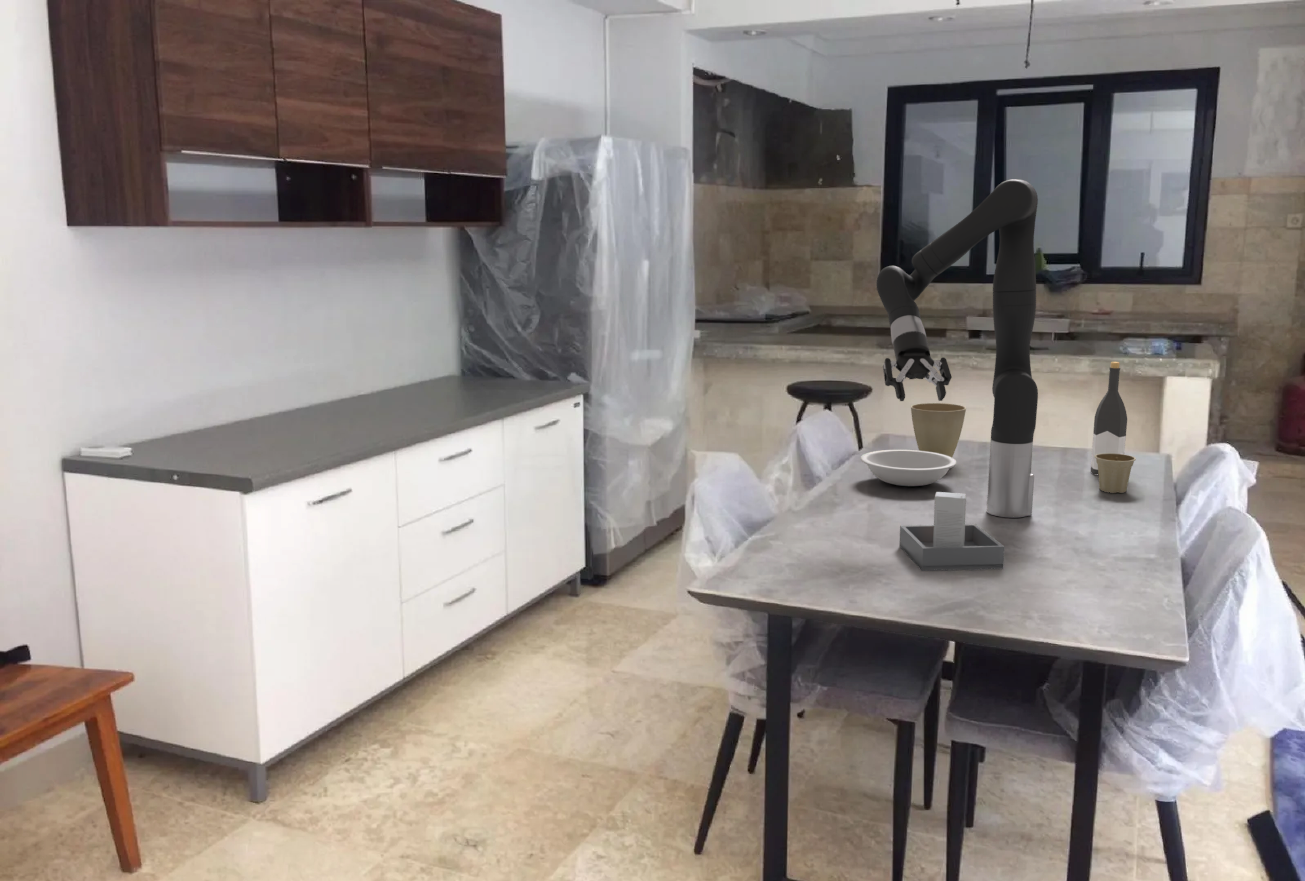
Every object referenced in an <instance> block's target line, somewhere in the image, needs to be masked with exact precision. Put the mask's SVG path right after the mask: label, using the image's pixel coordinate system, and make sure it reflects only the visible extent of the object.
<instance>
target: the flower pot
mask: <svg viewBox="0 0 1305 881" xmlns="http://www.w3.org/2000/svg"><path fill="white" fill-rule="evenodd" d="M1095 458H1096V461H1097V464H1098V475H1099V476H1098V475H1097V476H1098V487H1099V490H1101V491H1102V492H1103V491H1104V493H1109V492H1110V493H1109V494H1116V493H1119V494H1124V493H1126V492H1127V490H1128V484H1129V481H1130V476H1131V472H1132V471H1131V470H1132V467H1133V466H1134V463H1135V461H1136V459H1137V458H1136V457H1135V456H1133V455H1129V454H1125V453H1124V454H1115V453H1102V454H1097V455H1095Z"/></svg>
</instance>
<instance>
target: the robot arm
mask: <svg viewBox="0 0 1305 881" xmlns="http://www.w3.org/2000/svg"><path fill="white" fill-rule="evenodd" d="M1038 204H1039V199H1038V193H1037V191H1036V189H1035V187H1034V186H1033V184H1031V183H1029V182H1028V181H1026V180H1023V179H1015V178H1014V179H1012V178H1011V179H1007V180H1005V181H1002V182H1001V183H1000V184H998V185H997V186H996V187H995V189H993V191H991V193H990V194H989V195H988V196H987V197H986V198H984V200H982V202H980V204H979V205H978V206H977V207H976V208H974V210H972V211H971V212H970V213H969V214H968V215H966V217H964V218H962V220H960V221H959V222H958V223H957V224H955V225H953V226H952V227H951V228H949V229H948V230H947V231H945V232H944V233H942V234H940V235H939V236H937V238H935V239H933V240H932V241H930V243H927V245H926V246H924V247H923V248H922V249H919V251H917V252H916V253H915V254H914V255H913V256H912V259H911V263H912V267H913V268H914V270H913V271H912V273H911V274H908V273H906V271H905V270H904V269H902V268H901V267H899V266H896V265H889V266H886V267H884V268H882V269H881V270H880V272H879V273H878V276H877V277H876V290H877V293H878V296H879V299H880V301H881V303H882V306H883V307H884V309H885V310H886V312H887V315H888V316H887V317H888V323H889V327H890V337H891V344H892V346H893V352H894V357H895V360H891V358H889V357H886V358H885V359H884V361H883V366H882V371H883V377H884V384H885V386H886V387H890V386H892V387H893V388H894V390H895V391H894V392H895V396H896V399H898V400H899V402H905V398H906V392H905V387H904V382H905V381H906V379H908V380H915V379H916V380H917V379H918V380H926V381H927V382H928V383H932V384H933V386H935V390H936V394H937V395H936V396H937V400H938V402H940V401H941V402H942V401H944V399H945V397H946V396H947V390H946V386H949V385H950V382H951V379H952V378H953V377H952V374H951V370H950V367H949V364H948V362H947V358H946V357H943V356H941V358H940V359H937V360H936V359H933V358H932V356H931V352H930V346H929V343H928V338H927V334H926V330H925V327H924V324H923V321H922V318H921V313H920V309H919V306H918V304H917V303H916V302H915V301H916V300H917V299H918V298H919V297H920V296H921V294H922V293H923V292H924V291H925V290H926V289H927V288H928V286H929V285H930V284H931V283H932V281H933V280H934V279H935V278H936V277H938V276H939V275H940V274H942V273H943V272H945V271H946V270H947V269H949V268H951V266H953V265H954V264H955V263H957V262H958V261H959V260H960V259H961V258H963V257H964V256H965V255H966V254H967V253H969V251H970V250H971V249H973V248H974V247H975V246H976V245H977V244H978V243H979V242H981V241H982V240H984V239H985V238H987V237H988V236H990V235H991V234H992V233H994V232H996V231H999V248H998V254H997V258H996V259H997V260H996V263H995V268H994V273H993V274H994V275H993V279H992V280H993V281H992V312H993V313H992V314H993V315H992V317H993V329H994V337H995V350H996V351H995V362H994V363H995V364H994V372H993V380H992V390H991V391H992V395H993V398H994V400H993V401H994V402H993V403H994V404H993V415H992V416H993V418H992V425H991V429H990V430H991V431H990V446H989V464H988V477H987V478H988V481H987V495H986V496H987V498H986V499H987V501H986V512H987V514H988V515H992V516H996V517H1000V518H1010V519H1011V518H1015V519H1016V518H1023V517H1027V516H1028V517H1029V516H1032V515H1033V503H1034V502H1033V500H1034V488H1035V487H1034V486H1035V475H1034V474H1033V473H1032V462H1033V446H1034V437H1035V436H1034V435H1035V430H1036V427H1037V426H1036V424H1037V412H1038V400H1039V390H1038V385H1037V384H1036V381H1035V380H1034V379H1033V375H1032V368H1031V355H1030V354H1031V353H1030V351H1031V350H1030V348H1031V339H1032V334H1033V330H1034V325H1035V318H1036V310H1037V309H1036V308H1037V279H1036V278H1037V277H1036V274H1037V273H1036V260H1035V259H1036V258H1035V248H1034V246H1035V244H1034V240H1035V230H1036V229H1035V228H1036V218H1037V211H1038V210H1037V209H1038ZM894 368H896V369H897V370H898V371H899V372H900V373H899V374H898V375H897V377H894V376H893V370H894ZM938 371H939V372H938Z"/></svg>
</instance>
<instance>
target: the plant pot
mask: <svg viewBox="0 0 1305 881" xmlns="http://www.w3.org/2000/svg"><path fill="white" fill-rule="evenodd" d="M966 411H967V406H964V405H961V404H956V403H946V402H942V403H941V402H927V403H926V402H925V403H922V402H921V403H915V404H912V405H910V413H911V414H910V415H911V419H912V426H913V427H912V428H913V432H914V437H915V441H916V446H917V448H918V451H927V452H934V453H939V454H943V455H946V456H949V457H952V458H954V455H955V451H956V449H957V446H958V443H959V441H960V438H961V434H962V429H963V426H964V421H965V416H966V413H967V412H966Z"/></svg>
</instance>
